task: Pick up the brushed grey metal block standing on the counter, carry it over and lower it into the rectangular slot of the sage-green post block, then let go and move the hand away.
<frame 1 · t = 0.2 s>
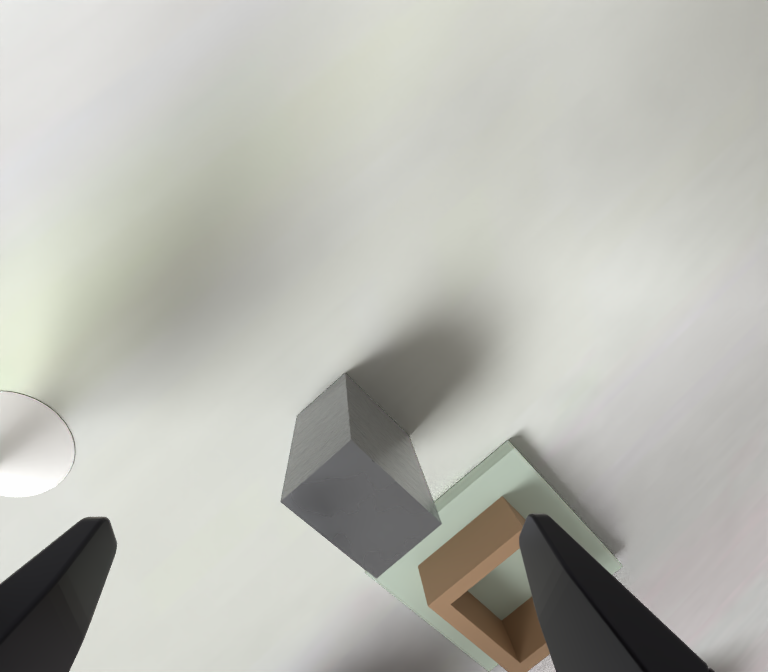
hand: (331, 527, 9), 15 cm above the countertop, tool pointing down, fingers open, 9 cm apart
brushed grey metal block: (354, 426, 25), on the countertop
post socket: (495, 558, 29), on the countertop
champagne flute: (12, 444, 23), on the countertop
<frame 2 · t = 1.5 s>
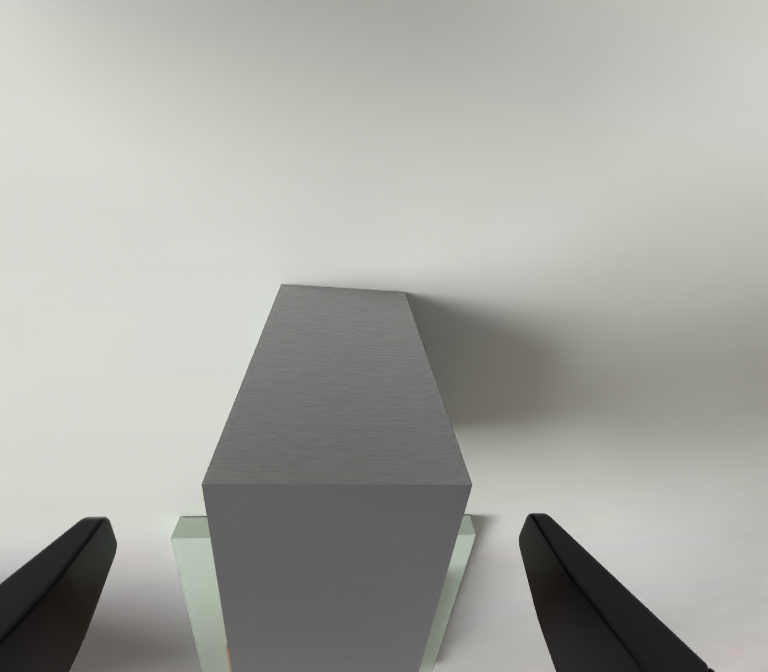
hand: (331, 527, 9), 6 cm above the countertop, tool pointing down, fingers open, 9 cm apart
brushed grey metal block: (339, 365, 14), on the countertop
post socket: (326, 604, 21), on the countertop
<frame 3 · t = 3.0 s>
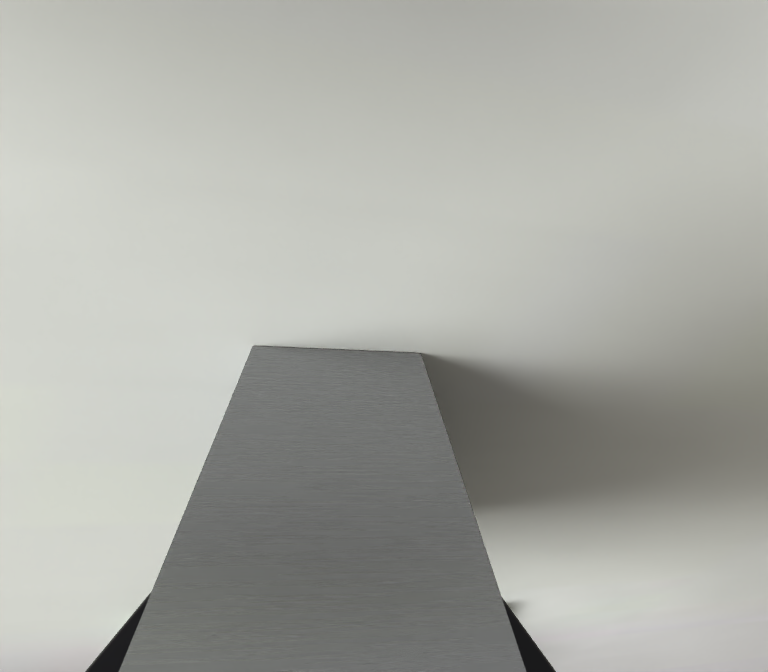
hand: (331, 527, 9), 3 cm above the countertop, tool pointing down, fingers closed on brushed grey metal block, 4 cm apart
brushed grey metal block: (333, 444, 11), on the countertop, touching gripper
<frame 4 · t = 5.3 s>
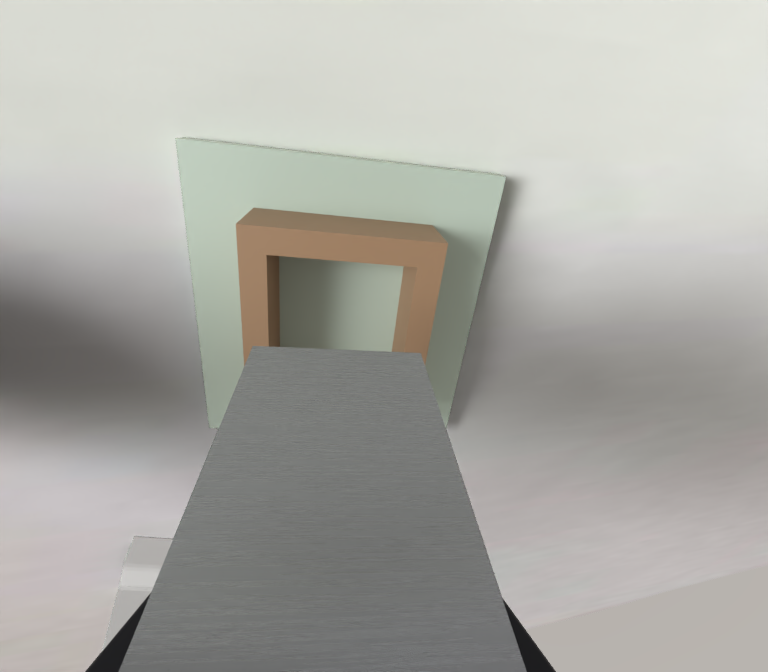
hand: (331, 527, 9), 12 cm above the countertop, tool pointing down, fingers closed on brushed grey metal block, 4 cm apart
brushed grey metal block: (333, 444, 11), point 10 cm above the countertop, touching gripper
post socket: (339, 309, 20), on the countertop
hinge: (253, 573, 30), on the countertop
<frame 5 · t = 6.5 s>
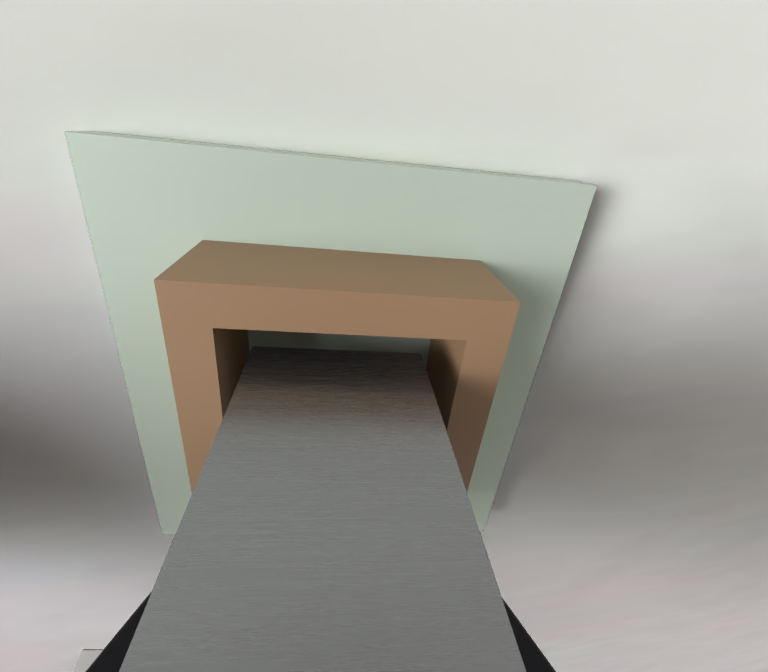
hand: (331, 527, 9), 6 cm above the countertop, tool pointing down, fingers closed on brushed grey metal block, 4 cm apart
brushed grey metal block: (333, 444, 11), point 3 cm above the countertop, touching gripper
post socket: (339, 375, 14), on the countertop
when the fingers open (5 cm above the countertop, at t = 7.6 s): brushed grey metal block drops 2 cm, resting on post socket.
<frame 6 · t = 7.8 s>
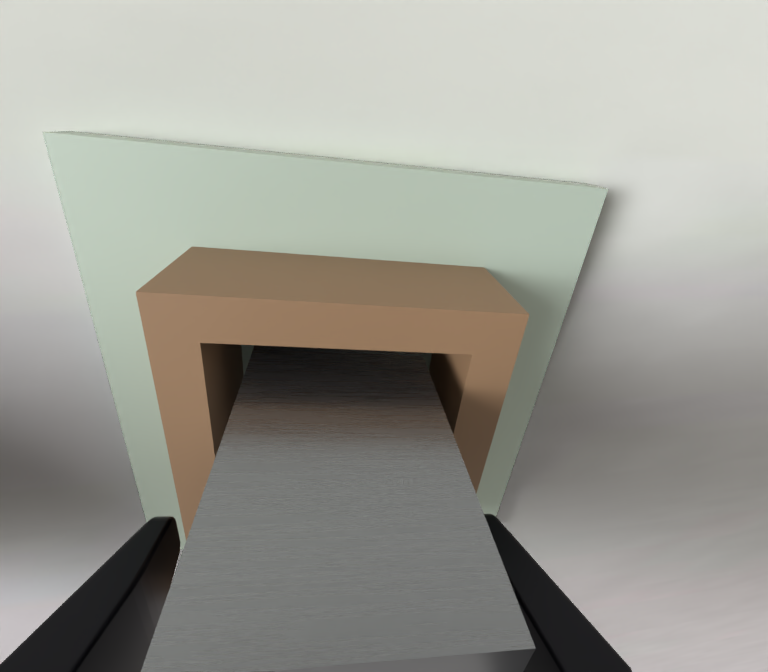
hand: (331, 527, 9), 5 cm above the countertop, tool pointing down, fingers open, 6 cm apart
brushed grey metal block: (334, 405, 12), point 1 cm above the countertop, touching post socket
post socket: (337, 386, 13), on the countertop
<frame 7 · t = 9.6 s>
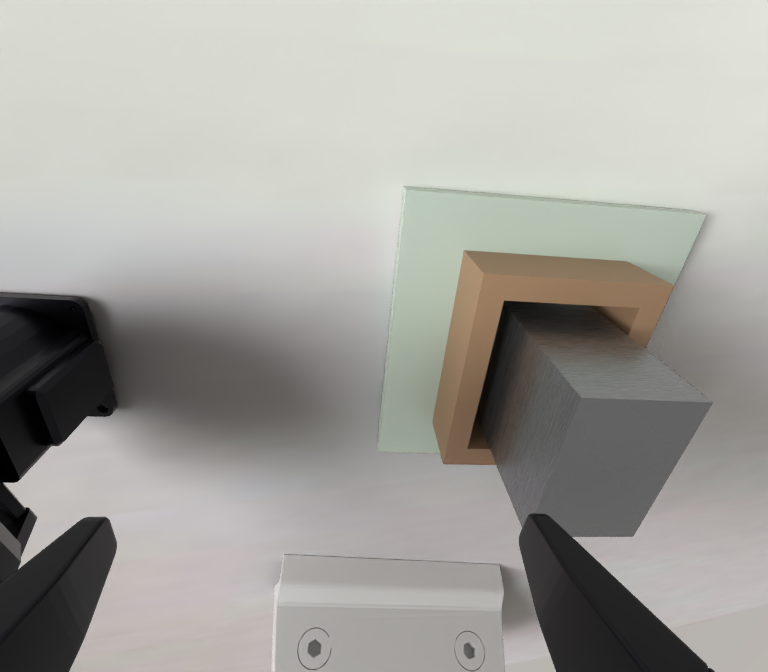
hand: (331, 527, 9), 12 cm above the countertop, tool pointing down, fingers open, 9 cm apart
brushed grey metal block: (519, 349, 20), point 1 cm above the countertop, touching post socket
post socket: (513, 339, 21), on the countertop
hinge: (386, 585, 31), on the countertop
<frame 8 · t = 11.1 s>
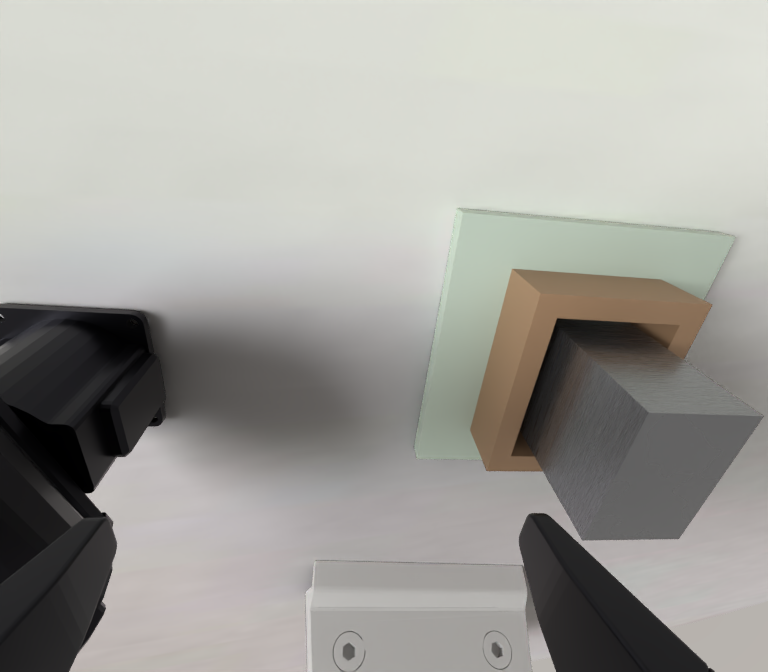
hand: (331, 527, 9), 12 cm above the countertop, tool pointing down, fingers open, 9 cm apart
brushed grey metal block: (556, 361, 21), point 1 cm above the countertop, touching post socket
post socket: (549, 351, 22), on the countertop
hinge: (411, 588, 32), on the countertop
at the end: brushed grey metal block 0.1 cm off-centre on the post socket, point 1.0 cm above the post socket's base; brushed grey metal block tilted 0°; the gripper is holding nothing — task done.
